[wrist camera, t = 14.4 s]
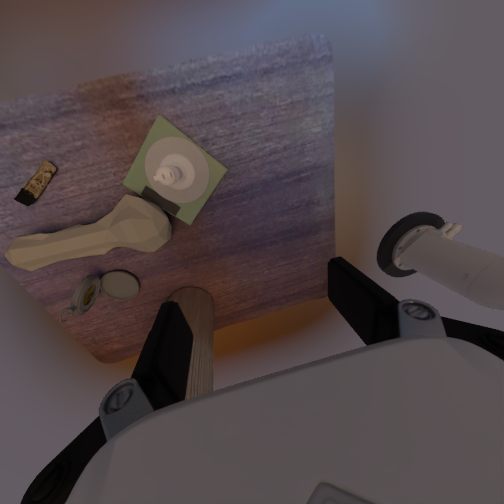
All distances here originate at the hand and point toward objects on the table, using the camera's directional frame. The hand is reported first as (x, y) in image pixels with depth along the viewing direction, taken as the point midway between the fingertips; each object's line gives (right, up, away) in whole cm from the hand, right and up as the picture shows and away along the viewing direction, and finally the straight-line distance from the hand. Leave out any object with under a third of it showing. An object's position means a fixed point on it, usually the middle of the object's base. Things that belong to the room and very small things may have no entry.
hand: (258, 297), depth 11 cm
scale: (-12, +15, +19) cm, 27 cm away
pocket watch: (-27, -3, +25) cm, 37 cm away
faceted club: (-26, +7, +20) cm, 34 cm away
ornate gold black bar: (-32, +13, +16) cm, 38 cm away
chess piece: (-11, +15, +16) cm, 24 cm away
